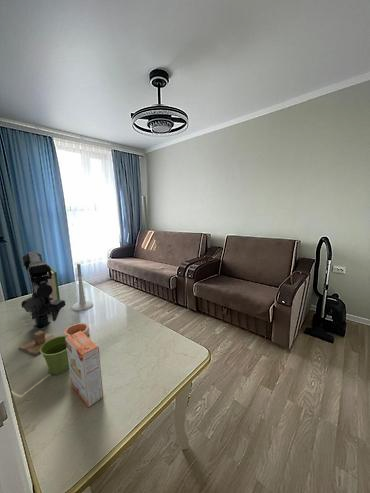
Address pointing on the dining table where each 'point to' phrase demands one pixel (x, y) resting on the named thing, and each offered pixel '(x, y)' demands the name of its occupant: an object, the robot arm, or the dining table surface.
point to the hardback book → (54, 285)
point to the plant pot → (56, 354)
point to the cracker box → (84, 367)
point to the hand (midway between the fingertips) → (45, 320)
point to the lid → (36, 342)
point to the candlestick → (81, 295)
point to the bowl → (77, 329)
